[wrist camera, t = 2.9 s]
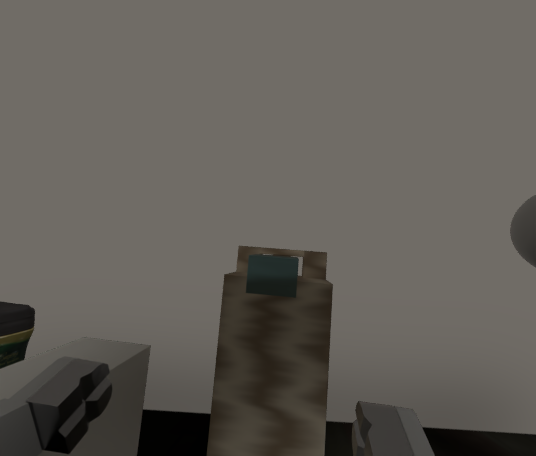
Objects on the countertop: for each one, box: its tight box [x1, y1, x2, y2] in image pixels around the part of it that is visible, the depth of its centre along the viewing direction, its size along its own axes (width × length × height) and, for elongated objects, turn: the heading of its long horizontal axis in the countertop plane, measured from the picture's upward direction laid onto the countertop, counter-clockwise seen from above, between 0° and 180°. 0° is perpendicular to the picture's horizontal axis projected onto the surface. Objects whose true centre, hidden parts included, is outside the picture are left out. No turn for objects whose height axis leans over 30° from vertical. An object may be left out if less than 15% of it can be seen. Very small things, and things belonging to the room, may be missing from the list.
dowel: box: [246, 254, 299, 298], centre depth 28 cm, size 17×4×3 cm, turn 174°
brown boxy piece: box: [207, 246, 333, 456], centre depth 31 cm, size 12×9×29 cm
